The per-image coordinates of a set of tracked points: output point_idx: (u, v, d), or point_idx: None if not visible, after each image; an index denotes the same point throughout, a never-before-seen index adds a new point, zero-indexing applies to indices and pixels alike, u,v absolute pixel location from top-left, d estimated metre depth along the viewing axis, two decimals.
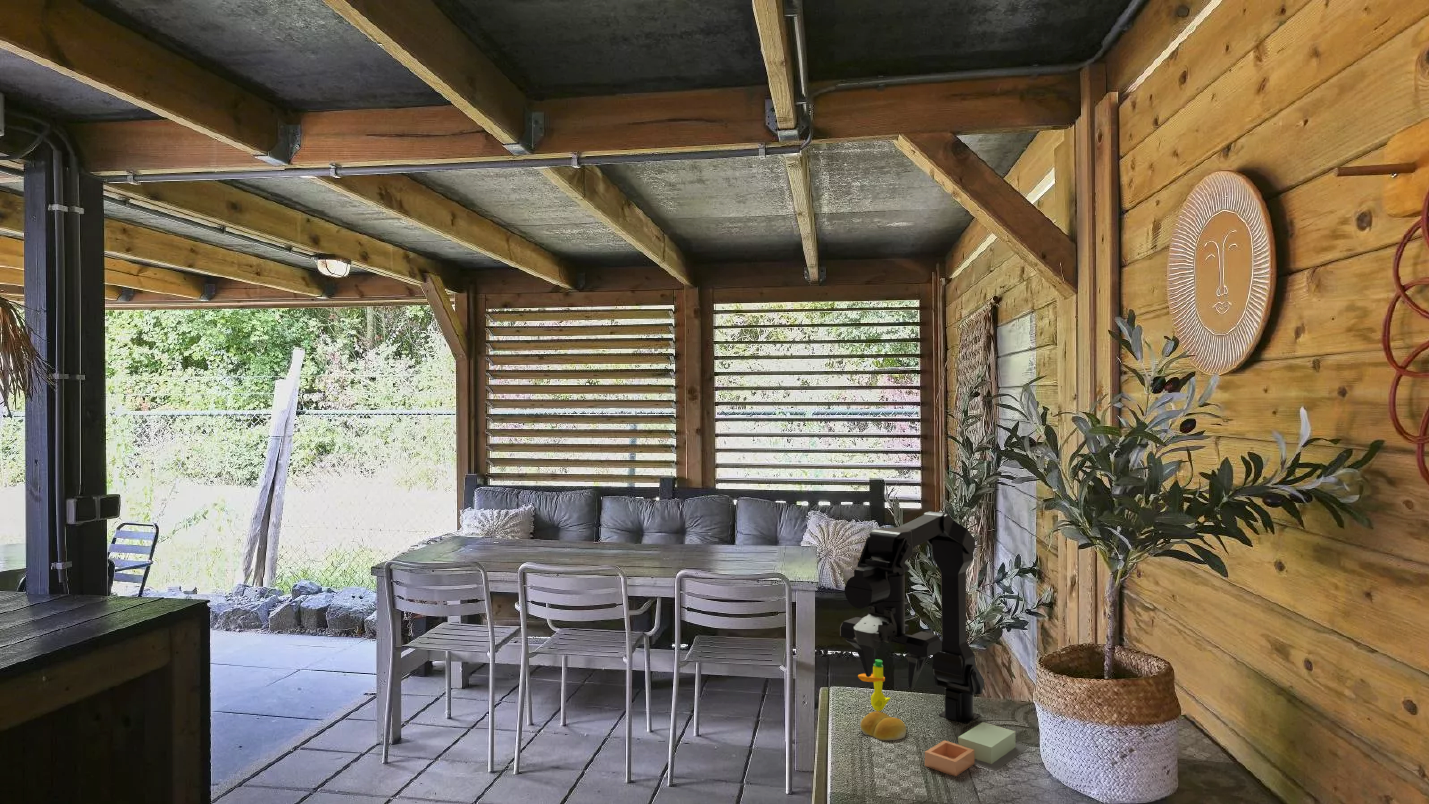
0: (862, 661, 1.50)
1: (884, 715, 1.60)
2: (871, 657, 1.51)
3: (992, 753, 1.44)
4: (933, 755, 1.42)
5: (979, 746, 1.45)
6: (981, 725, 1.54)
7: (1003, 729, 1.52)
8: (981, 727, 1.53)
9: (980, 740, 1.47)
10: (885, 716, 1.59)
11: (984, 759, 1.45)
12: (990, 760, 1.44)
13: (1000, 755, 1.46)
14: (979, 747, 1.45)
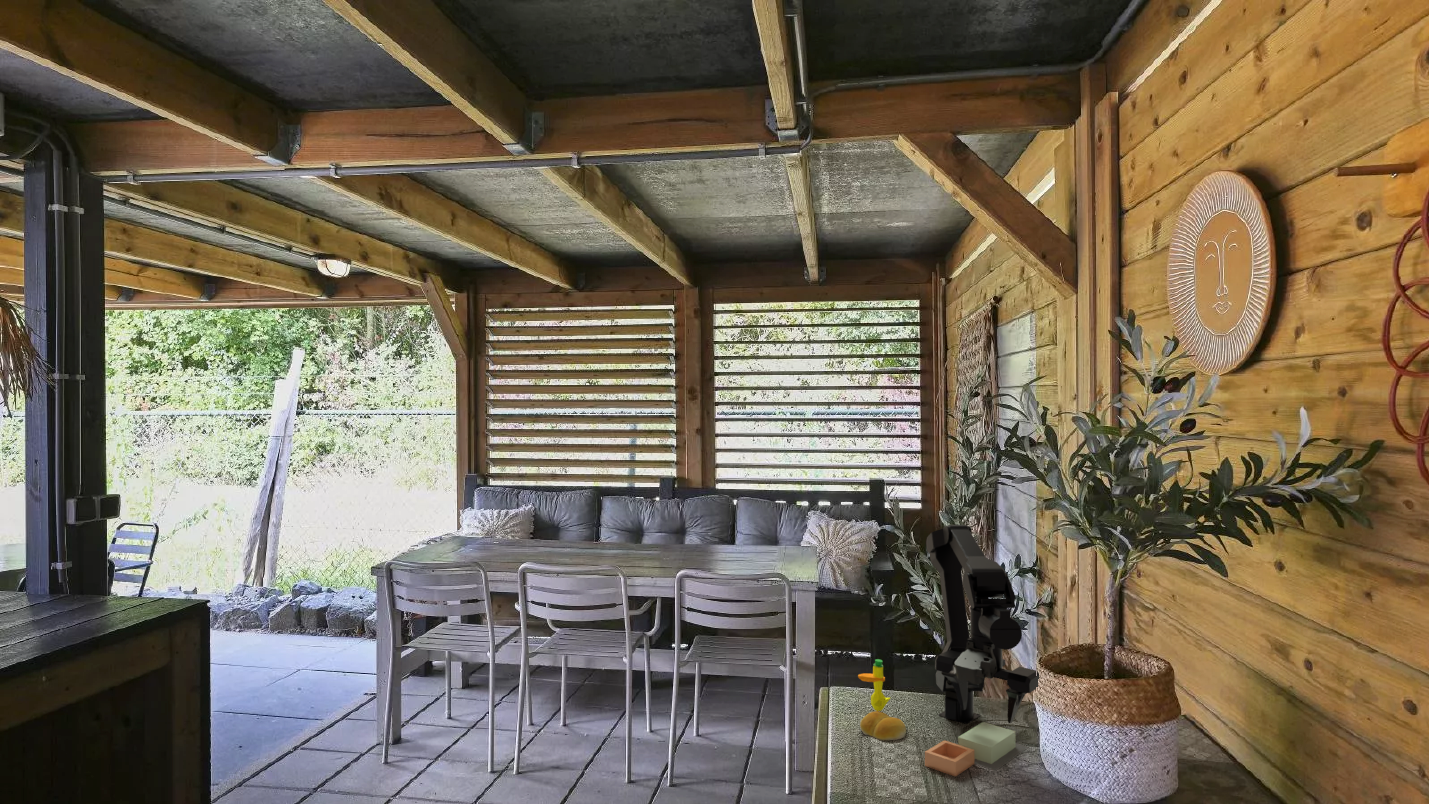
0: (958, 694, 1.53)
1: (884, 715, 1.60)
2: (966, 690, 1.54)
3: (992, 753, 1.44)
4: (933, 755, 1.42)
5: (979, 746, 1.45)
6: (981, 725, 1.54)
7: (1003, 729, 1.52)
8: (981, 727, 1.53)
9: (980, 740, 1.47)
10: (885, 716, 1.59)
11: (984, 759, 1.45)
12: (990, 760, 1.44)
13: (1000, 755, 1.46)
14: (979, 747, 1.45)
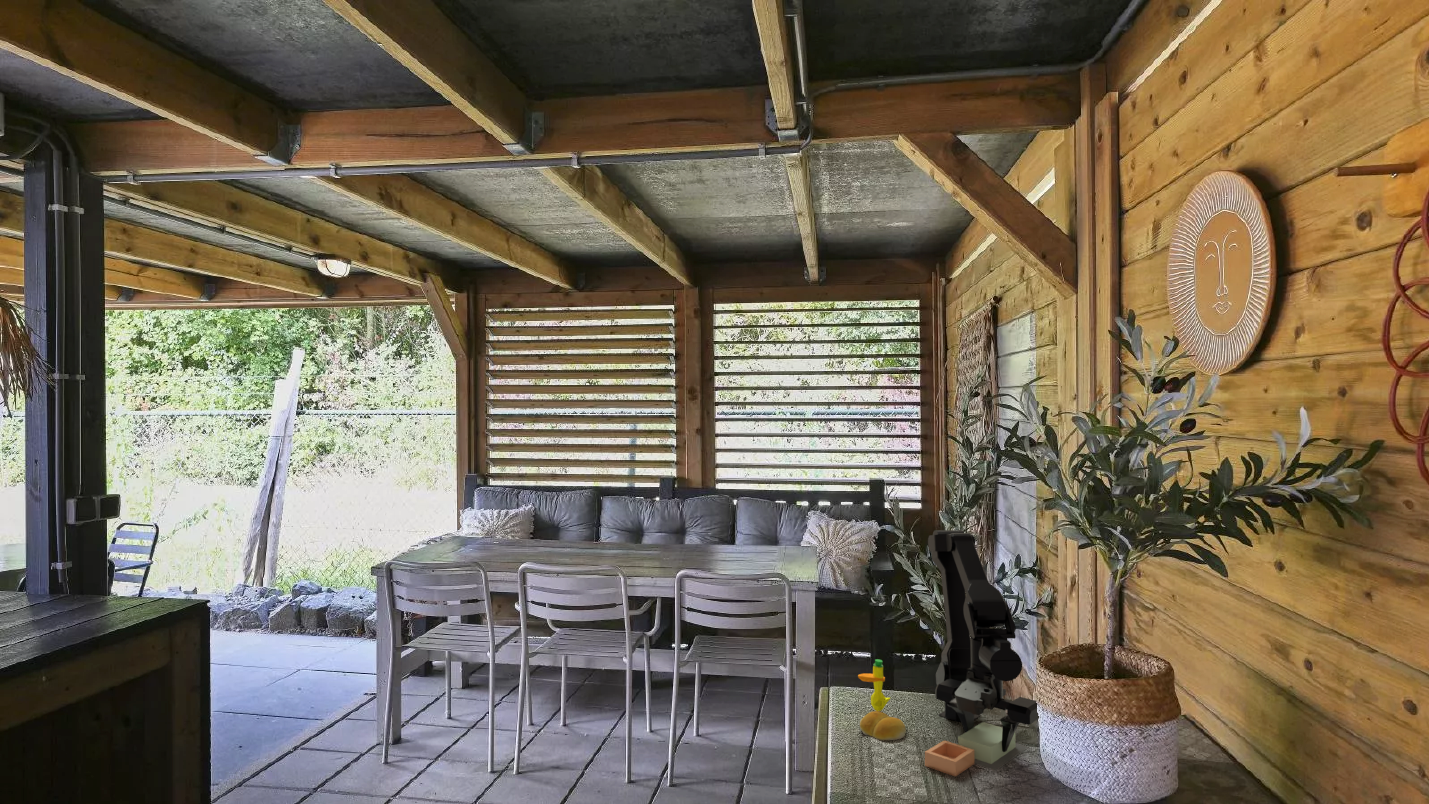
0: (964, 725, 1.52)
1: (883, 715, 1.60)
2: (972, 721, 1.53)
3: (992, 753, 1.44)
4: (933, 755, 1.42)
5: (979, 746, 1.45)
6: (981, 725, 1.54)
7: None
8: (981, 727, 1.53)
9: (980, 740, 1.47)
10: (884, 716, 1.59)
11: (984, 759, 1.45)
12: (990, 760, 1.44)
13: (1000, 755, 1.46)
14: (979, 747, 1.45)
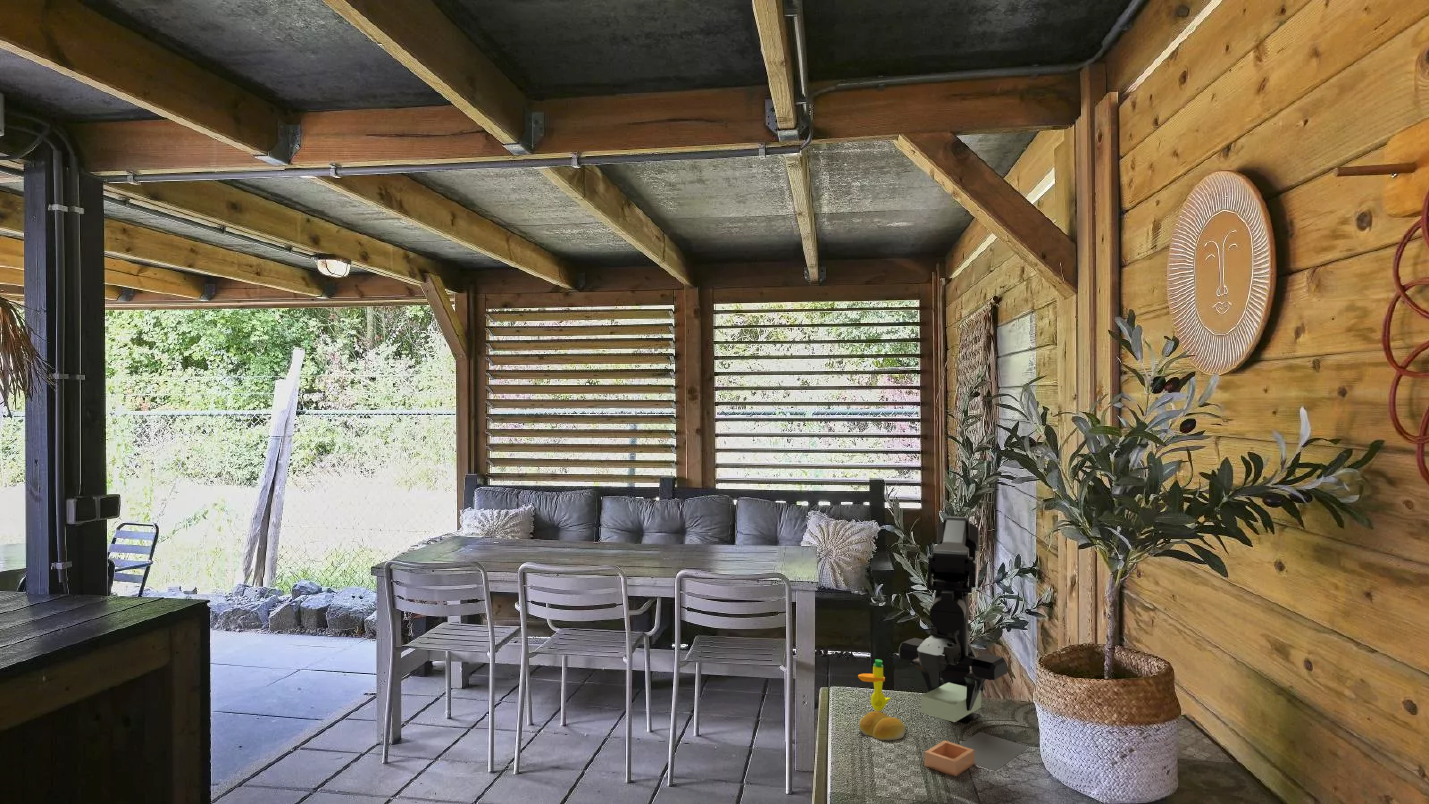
0: (928, 685, 1.46)
1: (883, 715, 1.60)
2: (936, 681, 1.47)
3: (955, 711, 1.38)
4: (933, 755, 1.42)
5: (942, 704, 1.39)
6: (946, 685, 1.48)
7: None
8: (946, 687, 1.47)
9: (943, 698, 1.41)
10: (884, 716, 1.59)
11: (947, 717, 1.39)
12: (953, 718, 1.38)
13: (964, 714, 1.40)
14: (943, 705, 1.39)
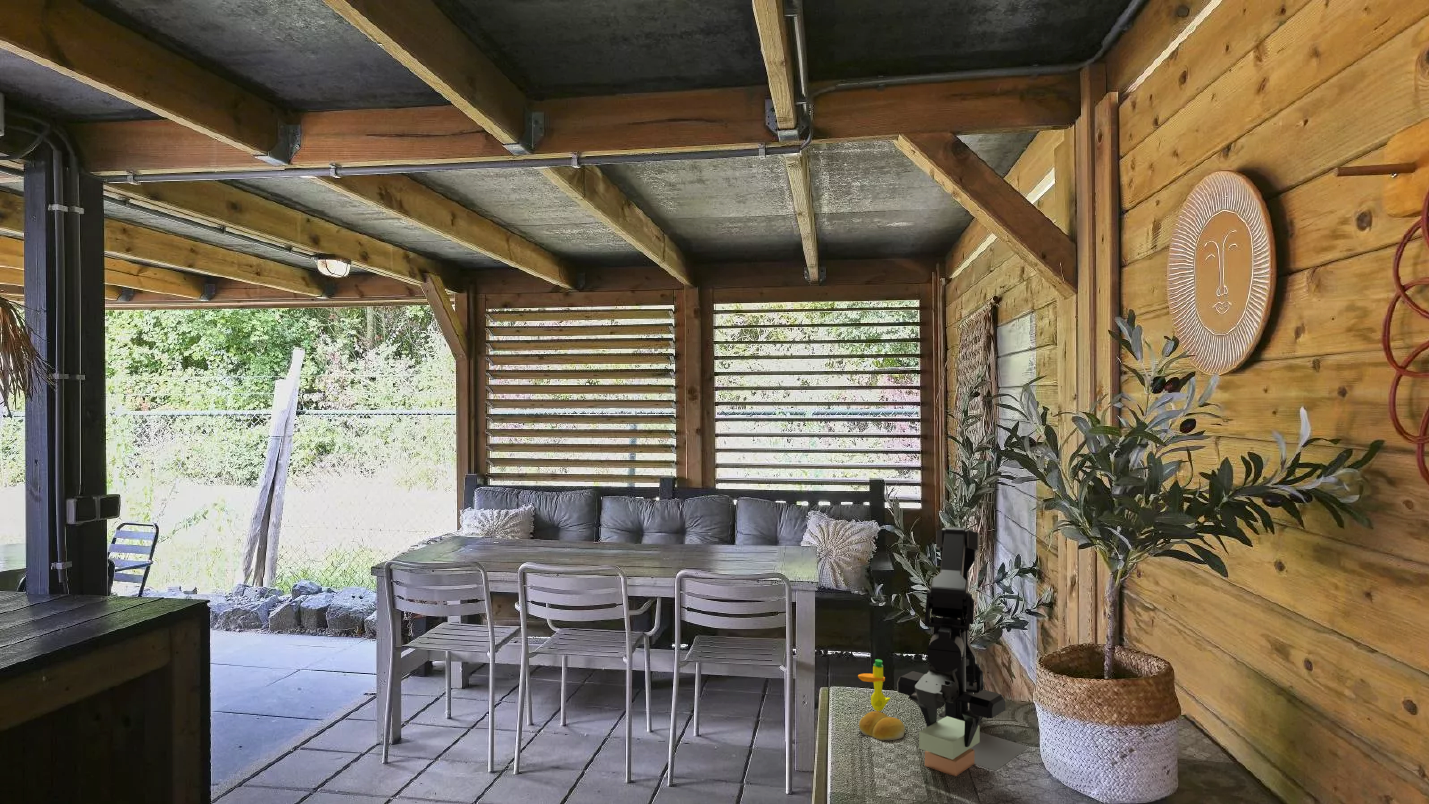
0: (926, 720, 1.46)
1: (883, 715, 1.60)
2: (935, 715, 1.47)
3: (953, 748, 1.38)
4: (933, 755, 1.42)
5: (940, 740, 1.39)
6: (944, 719, 1.48)
7: None
8: (944, 721, 1.47)
9: (941, 735, 1.41)
10: (884, 716, 1.59)
11: (945, 754, 1.39)
12: (951, 755, 1.38)
13: (962, 750, 1.40)
14: (940, 742, 1.39)
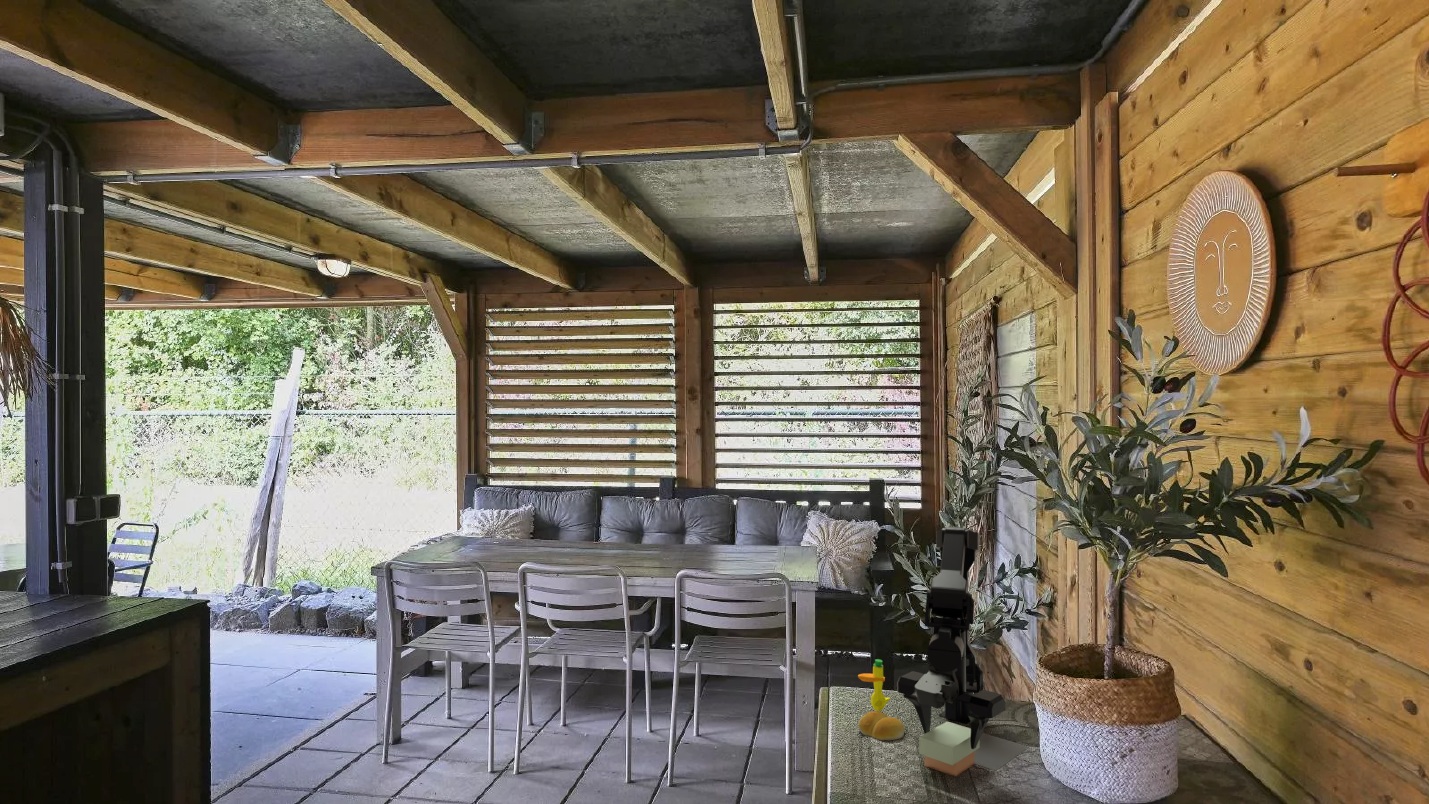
0: (920, 718, 1.46)
1: (882, 715, 1.60)
2: (929, 713, 1.48)
3: (953, 754, 1.38)
4: None
5: (940, 746, 1.39)
6: (944, 725, 1.48)
7: (967, 729, 1.46)
8: (944, 727, 1.47)
9: (941, 740, 1.41)
10: (883, 716, 1.59)
11: (945, 760, 1.39)
12: (951, 761, 1.38)
13: (962, 756, 1.40)
14: (940, 748, 1.39)
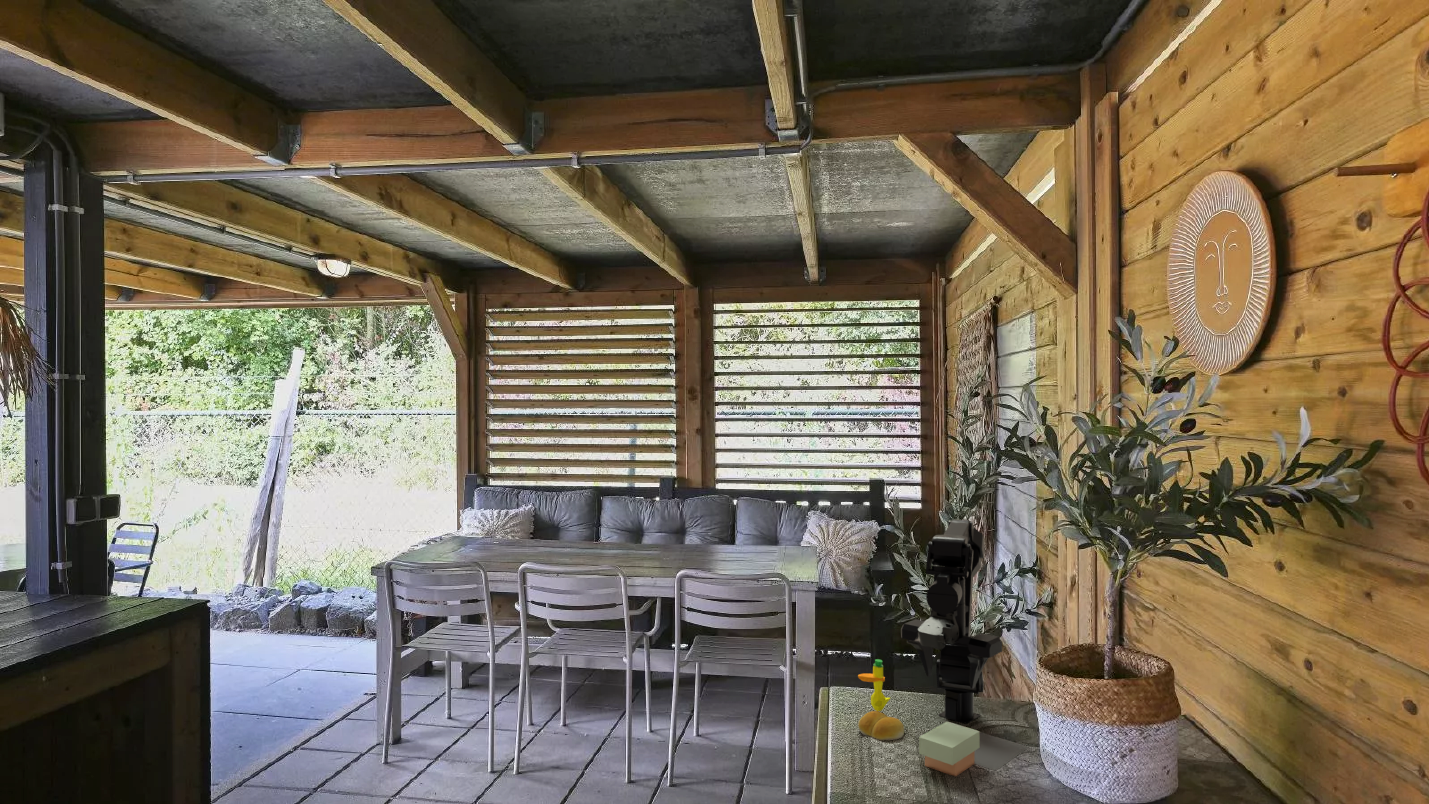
0: (923, 661, 1.57)
1: (882, 715, 1.60)
2: (931, 658, 1.58)
3: (953, 754, 1.38)
4: None
5: (940, 746, 1.39)
6: (944, 725, 1.48)
7: (967, 729, 1.46)
8: (944, 727, 1.47)
9: (941, 740, 1.41)
10: (883, 716, 1.59)
11: (945, 760, 1.39)
12: (951, 761, 1.38)
13: (962, 756, 1.40)
14: (940, 748, 1.39)
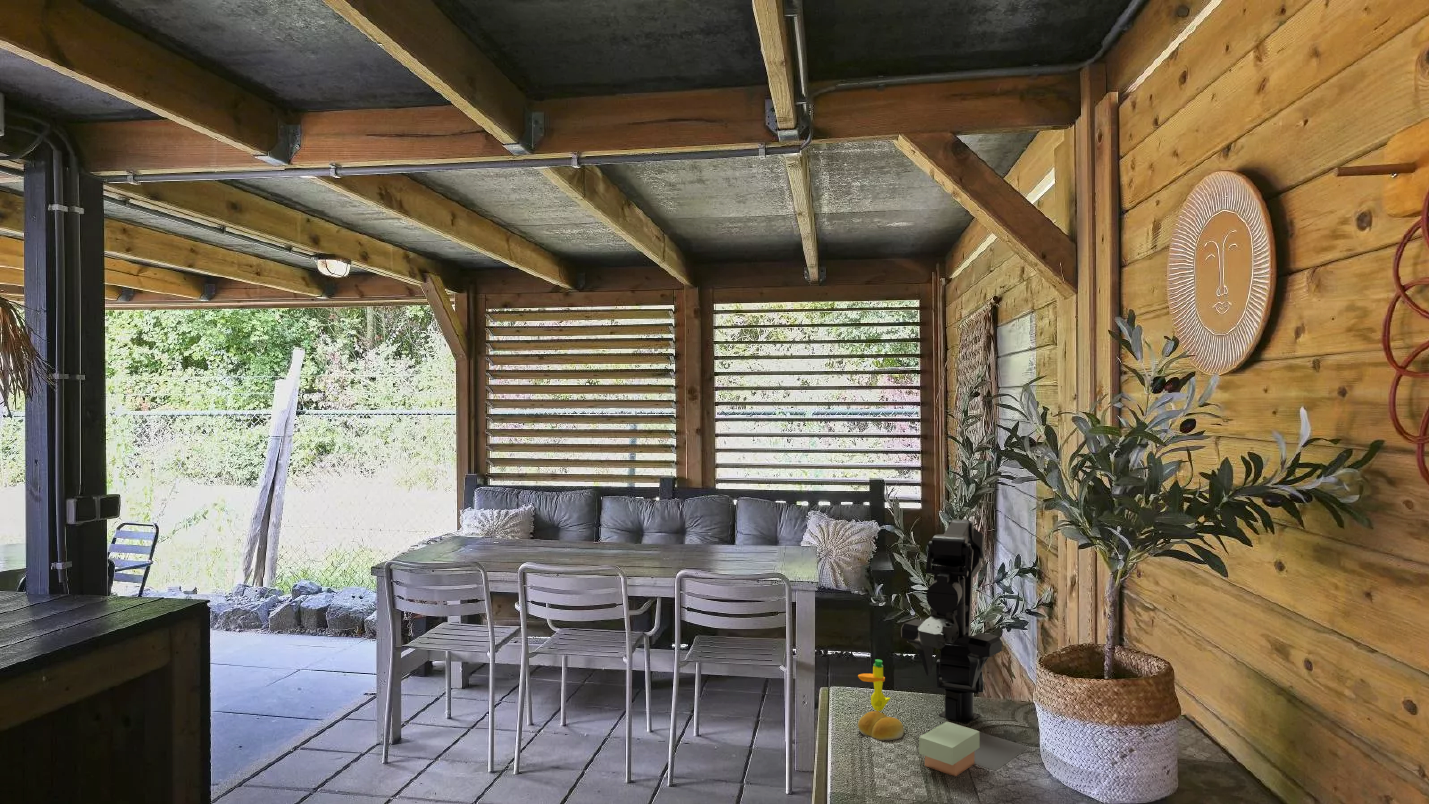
0: (923, 661, 1.57)
1: (882, 715, 1.60)
2: (931, 657, 1.58)
3: (953, 754, 1.38)
4: None
5: (940, 746, 1.39)
6: (944, 725, 1.48)
7: (967, 729, 1.46)
8: (944, 727, 1.47)
9: (941, 740, 1.41)
10: (883, 716, 1.60)
11: (945, 760, 1.39)
12: (951, 761, 1.38)
13: (962, 756, 1.40)
14: (940, 748, 1.39)
